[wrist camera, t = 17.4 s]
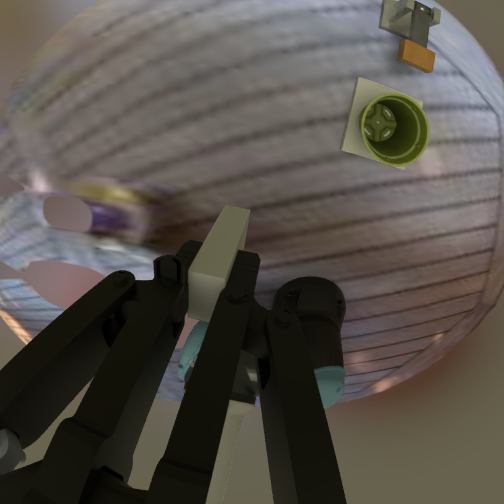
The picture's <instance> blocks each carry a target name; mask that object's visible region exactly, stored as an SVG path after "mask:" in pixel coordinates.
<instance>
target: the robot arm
mask: <svg viewBox="0 0 504 504" xmlns="http://www.w3.org/2000/svg"><path fill="white" fill-rule="evenodd" d="M249 216H250V210H249V209H244V208H239V207H234V206H229V205H225V207H224V208H223V210H222V212H221V213H220V215H219V217H218V219H217V220H216V222H215V224H214V225H213V227H212V229H211V231H210V232H209V234H208V236H207V238H206V239H205V241H204V243H202V242H198V241H193V240H189V241H188V242H186V243H184V244H183V245H182V247H181V248H180V250H179V251H178V253H177V254H176V256H172V255H165V256H161V257H158V258H156V259H155V260H154V261H153V264H154V278H153V280H135V276H134V275H133V274H132V273H131V272H129V271H126V270H119V271H115V272H113V273H111V274H109V275H108V276H107V277H106V278H105V279H103V280H102V281H101V282H99V283H98V284H97V285H96V286H94V287H93V288H92V289H91V290H89V291H88V292H87V293H86V294H84V295H83V296H82V297H81V298H80V299H79V300H77V301H76V302H75V303H74V304H72V305H71V306H70V307H69V308H68V309H66V310H65V311H64V312H63V313H62V314H61V315H59V316H58V317H57V318H56V319H55V320H54V321H52V322H51V323H50V324H49V325H48V326H47V327H46V328H45V329H43V330H42V331H41V332H40V333H39V334H38V335H37V336H36V337H35V338H34V339H32V340H31V341H30V342H29V343H28V344H27V345H26V346H25V347H24V348H23V349H22V350H21V351H20V352H19V353H18V354H17V355H15V356H14V357H13V358H12V359H11V360H10V361H9V362H8V363H7V364H6V365H5V366H4V367H3V368H2V369H1V370H0V504H223V501H224V496H225V492H226V488H227V484H228V479H229V475H230V471H231V466H232V462H233V458H234V453H235V449H236V444H237V440H238V435H239V430H240V426H241V421H242V417H243V414H244V413H245V412H247V411H248V410H250V409H251V408H253V407H254V405H255V400H256V397H257V396H260V403H261V410H262V419H263V427H264V434H265V442H266V449H267V457H268V464H269V472H270V479H271V486H272V493H273V500H274V504H347V503H346V499H345V494H344V490H343V486H342V481H341V477H340V472H339V468H338V464H337V459H336V455H335V451H334V447H333V443H332V439H331V435H330V431H329V427H328V423H327V419H326V415H325V411H324V409H325V408H328V407H330V406H331V405H333V404H334V403H336V402H337V401H338V400H339V399H340V398H341V396H342V394H343V392H344V376H345V369H344V363H343V353H342V344H341V335H340V330H341V326H342V323H343V319H344V316H345V312H346V305H345V299H344V295H343V293H342V291H341V290H340V289H339V287H338V286H336V285H335V284H334V283H332V282H330V281H328V280H326V279H322V278H318V277H304V278H299V279H295V280H293V281H290V282H288V283H287V284H285V285H284V286H282V287H281V288H280V289H279V290H278V292H277V293H276V295H275V297H274V301H273V309H271V310H270V311H269V310H267V309H265V308H263V307H262V306H260V305H259V304H258V303H257V302H256V300H255V298H254V289H255V284H256V280H257V275H258V270H259V265H260V261H261V260H260V258H259V256H258V254H257V253H252V252H248V251H243V250H244V245H245V239H246V233H247V227H248V221H249ZM187 311H188V317H189V318H192V319H196V320H200V321H199V322H198V323H197V324H196V325H195V326H194V327H193V329H192V331H191V332H190V334H189V336H188V338H187V340H186V342H185V345H184V347H183V350H182V353H181V356H180V359H179V362H180V363H179V366H178V370H177V373H178V377H179V378H180V379H182V380H183V381H186V382H185V386H184V390H183V391H184V396H183V399H182V402H181V405H180V408H179V411H178V414H177V417H176V420H175V423H174V426H173V429H172V432H171V435H170V438H169V441H168V444H167V448H166V450H165V453H164V455H163V457H162V458H161V459H160V461H159V462H158V464H157V466H156V469H155V472H154V475H153V477H152V481H151V484H150V487H149V490H148V491H147V490H140V489H134V488H132V487H131V486H129V485H128V484H127V482H128V480H129V477H130V474H131V470H132V465H133V454H134V451H135V448H136V445H137V442H138V440H139V437H140V434H141V432H142V429H143V426H144V424H145V421H146V418H147V416H148V413H149V411H150V408H151V406H152V403H153V401H154V398H155V395H156V393H157V390H158V388H159V385H160V383H161V380H162V378H163V375H164V373H165V371H166V368H167V366H168V363H169V361H170V358H171V356H172V353H173V351H174V349H175V346H176V344H177V341H178V339H179V336H180V334H181V332H182V330H183V327H184V323H185V315H186V313H187ZM93 377H94V378H93ZM92 378H93V380H92V382H91V384H90V386H89V388H88V390H87V392H86V393H85V395H84V397H83V399H82V401H81V403H80V405H79V407H78V409H77V411H76V413H75V414H74V416H72V417H70V418H66V419H64V420H63V421H62V422H61V423H60V425H59V426H58V428H57V430H56V432H55V434H54V436H53V438H52V441H51V443H50V445H49V447H48V449H47V451H46V454H45V456H44V458H43V460H40V461H38V462H35V463H33V464H30V465H27V466H25V467H22V468H19V469H17V470H14V468H15V467H16V466H17V464H18V463H23V462H25V460H26V455H25V453H24V452H23V449H24V448H26V447H28V446H30V445H31V444H32V443H34V442H35V441H36V440H37V439H38V438H39V437H40V436H41V435H42V434H43V433H44V432H45V431H46V430H47V429H48V427H49V426H50V425H51V424H52V423H53V422H54V420H55V419H56V418H57V417H58V416H59V415H60V414H61V412H62V411H63V410H64V409H65V408H66V407H67V405H68V404H69V403H70V402H71V401H72V400H73V399H74V398H75V396H77V394H78V393H79V392H80V391H81V390H82V389H83V388H84V387H85V386H86V384H87V383H88V382H89V381H90V380H91V379H92ZM13 470H14V471H13Z"/></svg>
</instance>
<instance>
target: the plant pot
mask: <svg viewBox="0 0 504 504" xmlns="http://www.w3.org/2000/svg"><path fill="white" fill-rule="evenodd" d="M370 108H371V110H369V109H370ZM385 110H387V111H388V112H389V113H390V114H391V116H389V115H388V113H387V112H386V111H385ZM377 121H379V122H380V124H377ZM359 127H360V129H361V133H362V138H363V141H364V143H365V145H366V147H367V149H368V150H369V152H370V153H371V154H372V155H373V156H374V157H375V158H376V159H377V160H379V161H380V162H382V163H384V164H386V165H389V166H394V167H401V166H406V165H409V164H411V163H413V162H415V161H416V160H417V159H418V158H419V157H420V156H421V155H422V154H423V152H424V151H425V149H426V147H427V144H428V141H429V135H430V130H429V123H428V119H427V117H426V114H425V112H424V111H423V109H422V108H421V107H420V105H419V104H418V103H417V102H416V101H414V100H413V99H411V98H410V97H408V96H406V95H403V94H399V93H386V94H382V95H380V96H378V97H376V98H375V99H373V100H372V101H371V102H370V103H369V104H368V105H367V106H365V107H364V108H363V109H362V111H361V112H360V115H359ZM364 128H366V130H367V131H368V132H369V133H370V135H368V134H367V132H365V130H364ZM388 131H390V134H389V135H387V136H386V137H384V135H385V134H386V133H387V132H388Z"/></svg>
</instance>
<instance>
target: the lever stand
mask: <svg viewBox="0 0 504 504" xmlns="http://www.w3.org/2000/svg"><path fill="white" fill-rule="evenodd" d="M413 10H414V0H399V1H398V2H397V1H395V0H383V1H382V9H381V16H380V23H379V28H381V29H384V30H386V31H389V32H391V33H394V34H396V35H399V36H401V37H403V38H406V39H409V31H410V24H411V15H412V11H413ZM431 11H432V12H431V16H430V24H429V27H431V26H434V25H437V24H439V23H440V15H441V10H439V9H437V8H435V7H433V8H431Z"/></svg>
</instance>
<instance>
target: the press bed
mask: <svg viewBox="0 0 504 504" xmlns="http://www.w3.org/2000/svg"><path fill="white" fill-rule="evenodd" d="M386 93H399V94H403V95H406V94H404V93H401V92H399V91H396V90H394V89H391V88H389V87H386V86H384V85H381V84H378V83H375V82H373V81H370V80H367V79H364V78H361V77H357V78H356V83H355V87H354V92H353V97H352V101H351V105H350V110H349V114H348V118H347V123H346V127H345V131H344V135H343V139H342V143H341V147H340V149H341V150H342V151H346V152H349V153H353V154H356V155H359V156H363V157H366V158H369V159H372V160H375V161H378V162H380V161H379V160H377V159H376V158H375V157H374V156H373V155H372V154H371V153H370V152H369V150H368V149H367V147H366V145H365V143H364V141H363V138H362V133H361V129H360V127H359V115H360V112H361V111H362V109H363V108H364V107H365V106H367V105H368V104H369V103H370V102H371V101H372V100H373V99H375V98H376V97H378V96H380V95H382V94H386ZM406 96H408V95H406ZM408 97H410V98H411V99H413V100H414V101H416V102H417V103H418V104H419V105H420V107H421V108H422V106H423V102H422V101H420V100H417V99H415V98H413V97H411V96H408ZM369 110H371V108H370V109H369ZM385 111H386V112H387V113H388V115H389V116H391V114H390V113H389V112H388V111H387V110H385ZM377 124H380V122H379V121H377ZM364 130H365V132H367V134H368V135H370V133H369V132H368V131H367V130H366V128H364ZM389 134H390V131H388V132H387V133H386V134H385V135H384V137H386V136H387V135H389ZM381 163H382V162H381ZM393 167H394V166H393ZM396 168H398V169H401V170H404V171H405V168H406V166H401V167H396Z"/></svg>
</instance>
